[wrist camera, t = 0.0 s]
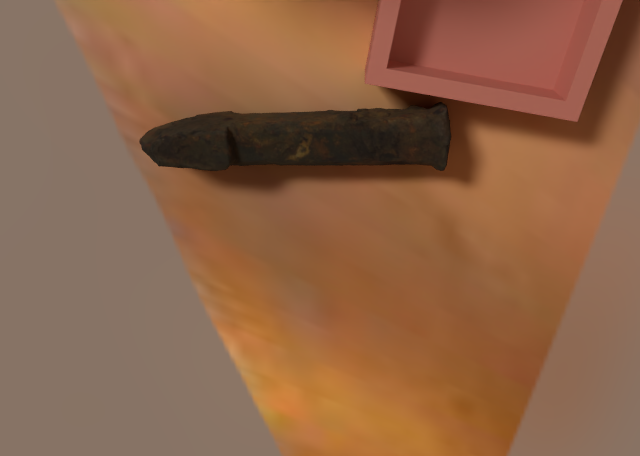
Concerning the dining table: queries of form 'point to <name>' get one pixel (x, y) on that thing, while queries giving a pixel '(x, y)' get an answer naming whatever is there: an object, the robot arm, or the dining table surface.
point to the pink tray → (493, 51)
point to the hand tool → (304, 138)
